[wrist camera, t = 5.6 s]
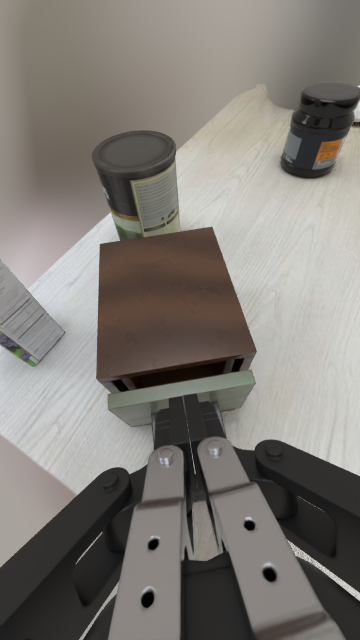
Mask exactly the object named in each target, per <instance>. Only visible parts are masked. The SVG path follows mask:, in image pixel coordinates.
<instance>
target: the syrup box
mask: <svg viewBox="0 0 360 640" xmlns="http://www.w3.org/2000/svg"><path fill="white" fill-rule="evenodd" d="M64 333H65V332H64V331H63V330H62V329H61V328H60V326H59V325H58V324H57V323H56V322H55V321H54V319H53V318H52V317H51V316H50V315H49V314H48V313H47V312H46V310H45V309H44V308H43V307H42V306H41V305H40V304H39V303H38V301H37V300H36V299H35V298H34V297H33V296H32V295H31V294H30V292H29V291H28V290H27V289H26V288H25V287H24V285H23V284H22V283H21V282H20V281H19V280H18V279H17V278H16V277H15V276H14V274H13V273H12V272H11V271H10V270H9V269H8V268H7V267H6V265H5V264H4V263H3V262H2V261H1V260H0V345H1V346H2V347H4V348H5V349H6V350H8V351H9V352H11V353H12V354H14V355H15V356H17V357H18V358H20V359H22V360H23V361H25V362H26V363H28V364H29V365H31V366H32V367H34V366H36V364H37V363H38V362H39V361H40V360H41V359H42V358H43V357H44V356H45V355H46V353H47V352H48V351H49V350H50V349H51V348H52V347H53V346H54V345H55V343H56V342H57V341H58V340H59V339H60V338H61V336H62V335H63V334H64Z"/></svg>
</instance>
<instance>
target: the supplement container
mask: <svg viewBox="0 0 360 640" xmlns="http://www.w3.org/2000/svg"><path fill="white" fill-rule="evenodd" d="M359 101H360V88H359V87H357V86H355V85H353V84H349V83H344V82H337V81H323V82H316V83H312V84H309V85H307V86H306V87H304V88H303V89H302V91H301V95H300V98H299V103H298V104H299V106H298V108H296V109H295V111H294V112H293V114H292V117H291V124H290V128H289V132H288V135H287V139H286V143H285V147H284V151H283V153H282V157H281V163H282V166H283V167H284V168H285V169H286V170H287V171H288V172H290V173H292V174H294V175H298V176H303V177H315V176H320V175H323V174H325V173H327V172H329V171H330V170H331V169H332V168H333V167H334V165H335V163H336V159H337V157H338V155H339V153H340V150H341V148H342V146H343V143H344V141H345V139H346V137H347V134H348V132H349V130H350V127H351V126H352V125H353V123H354V120H355V113H354V110H355V109H356V108H357V106H358V103H359Z"/></svg>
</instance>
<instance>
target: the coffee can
mask: <svg viewBox="0 0 360 640" xmlns="http://www.w3.org/2000/svg"><path fill="white" fill-rule="evenodd" d="M175 155H176V144H175V142H174V140H173V139H172V138H170V137H169V136H167V135H165V134H162V133H160V132H155V131H130V132H126V133H121V134H118V135H115V136H112V137H110V138H108V139H106V140H104V141H103V142H101V143H100V144H99V145H98V146H97V147H96V148H95V149H94V151H93V153H92V159H93V163H94V165H95V167H96V169H97V172H98V175H99V178H100V181H101V183H102V187H103V190H104V193H105V196H106V199H107V202H108V205H109V208H110V211H111V214H112V217H113V220H114V223H115V226H116V229H117V232H118V235H119V238H120V241H123V240H130V239H136V238H142V237H149V236H155V235H162V234H168V233H175V232H180V219H179V203H178V189H177V175H176V161H175Z"/></svg>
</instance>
